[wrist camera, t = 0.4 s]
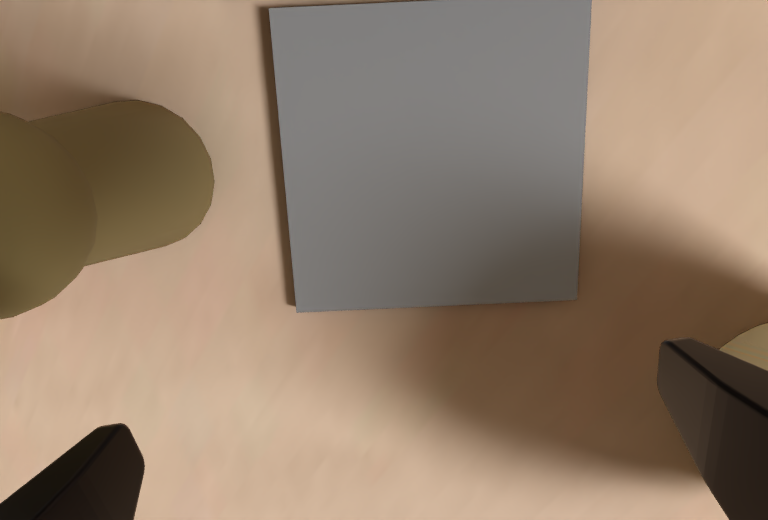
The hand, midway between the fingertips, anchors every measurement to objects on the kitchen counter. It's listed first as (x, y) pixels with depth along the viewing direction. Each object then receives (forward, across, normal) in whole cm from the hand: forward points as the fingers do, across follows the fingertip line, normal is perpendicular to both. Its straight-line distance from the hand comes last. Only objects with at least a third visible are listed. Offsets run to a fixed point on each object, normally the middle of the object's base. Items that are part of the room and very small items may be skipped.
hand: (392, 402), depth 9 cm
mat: (+14, -2, 0) cm, 15 cm away
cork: (+15, +10, -1) cm, 18 cm away
